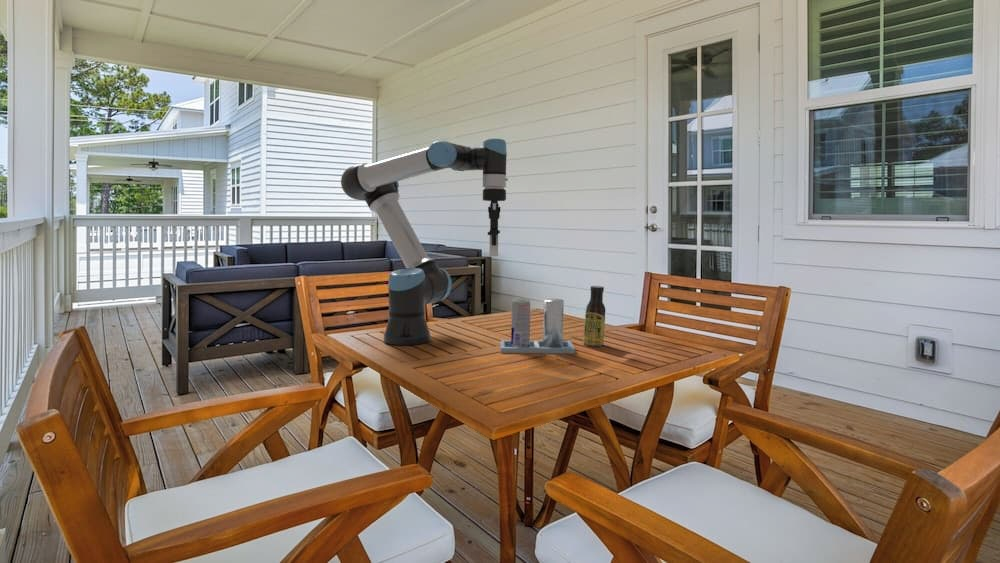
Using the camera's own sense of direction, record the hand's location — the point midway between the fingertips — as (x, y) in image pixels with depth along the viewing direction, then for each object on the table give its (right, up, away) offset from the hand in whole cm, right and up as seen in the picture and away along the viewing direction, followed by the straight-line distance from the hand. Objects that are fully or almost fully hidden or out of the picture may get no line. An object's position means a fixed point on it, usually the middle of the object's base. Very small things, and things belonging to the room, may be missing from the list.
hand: (493, 254), depth 178 cm
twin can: (+18, -29, -12) cm, 36 cm away
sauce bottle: (+32, -30, -6) cm, 44 cm away
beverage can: (+8, -29, -12) cm, 33 cm away
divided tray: (+13, -31, -12) cm, 35 cm away
